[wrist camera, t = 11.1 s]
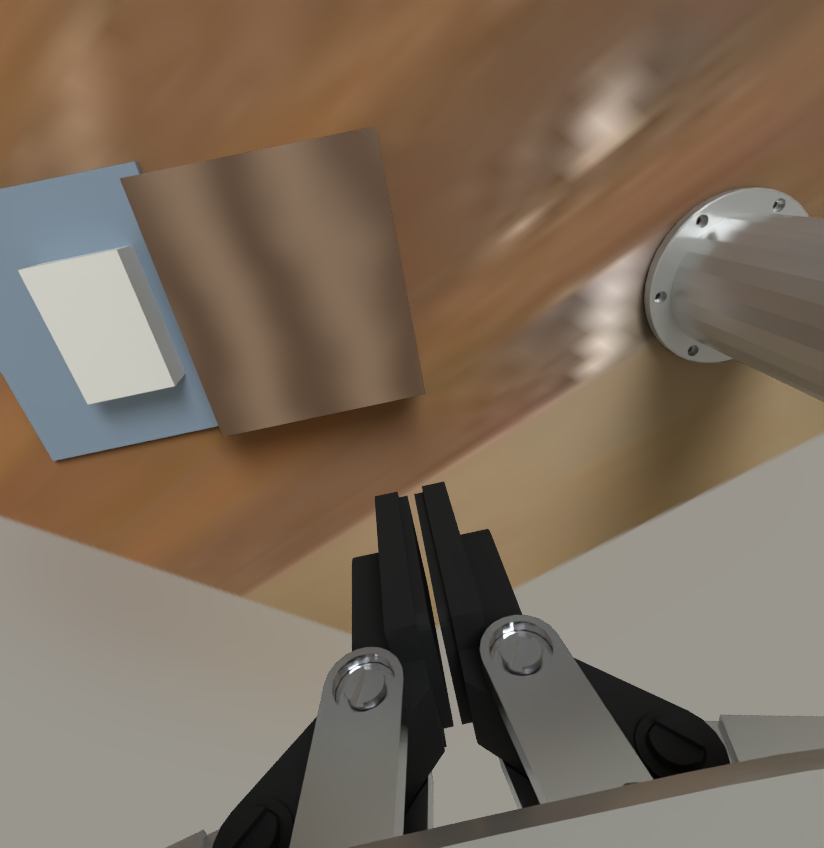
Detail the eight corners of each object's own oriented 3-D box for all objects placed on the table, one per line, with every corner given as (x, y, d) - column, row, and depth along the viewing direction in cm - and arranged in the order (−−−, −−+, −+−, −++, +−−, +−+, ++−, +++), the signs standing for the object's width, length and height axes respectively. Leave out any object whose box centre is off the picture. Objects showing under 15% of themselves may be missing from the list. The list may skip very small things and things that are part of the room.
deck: (372, 133, 32) (375, 126, 27) (417, 369, 39) (425, 393, 35) (152, 178, 32) (119, 178, 27) (237, 406, 39) (222, 437, 34)
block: (17, 270, 31) (40, 263, 33) (87, 404, 35) (103, 390, 37) (116, 249, 31) (132, 244, 33) (174, 386, 35) (185, 373, 37)
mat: (137, 161, 31) (134, 161, 31) (235, 419, 39) (234, 422, 39) (-89, 207, 31) (-95, 208, 31) (56, 457, 39) (53, 461, 39)
